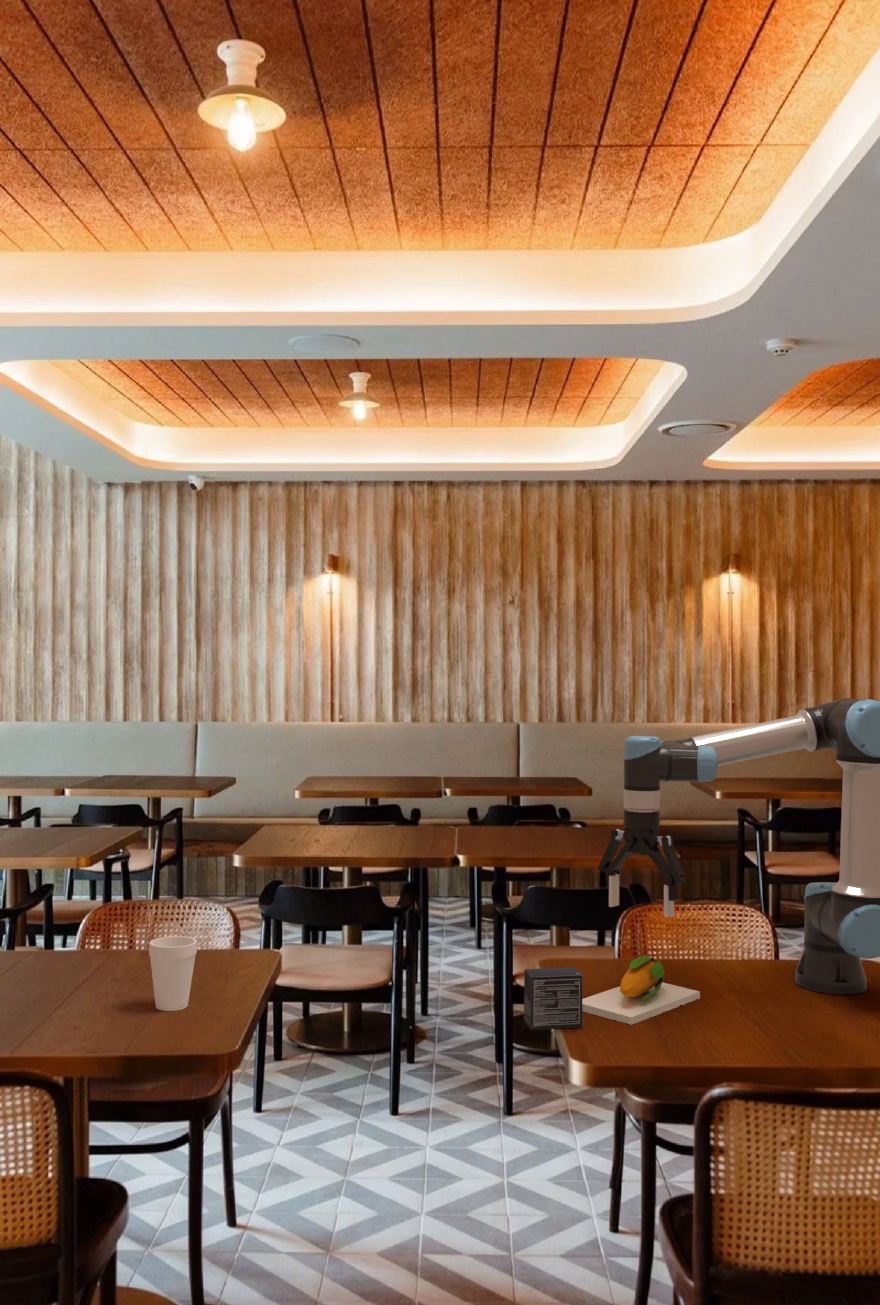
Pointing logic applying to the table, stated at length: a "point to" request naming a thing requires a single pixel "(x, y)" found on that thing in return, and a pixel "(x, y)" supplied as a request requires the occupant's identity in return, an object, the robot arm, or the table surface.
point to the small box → (553, 998)
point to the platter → (637, 1003)
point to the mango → (642, 977)
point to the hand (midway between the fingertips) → (640, 911)
